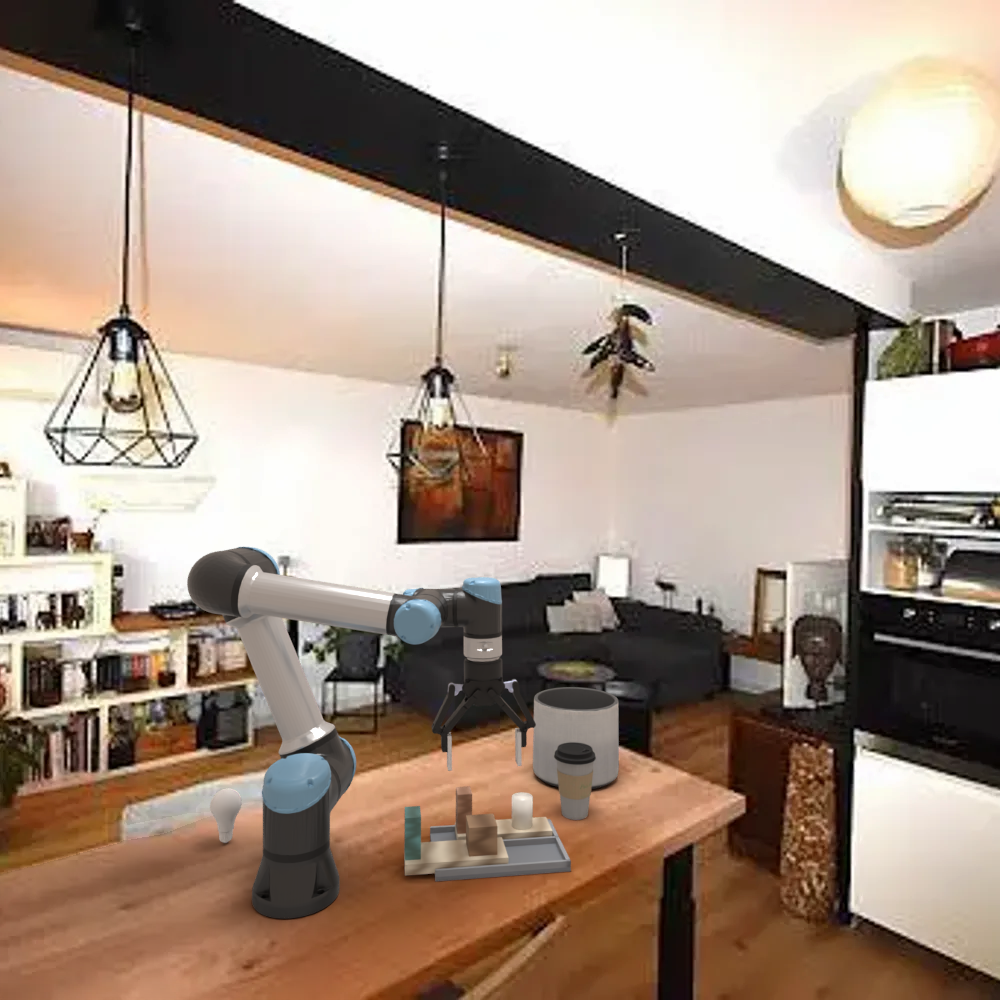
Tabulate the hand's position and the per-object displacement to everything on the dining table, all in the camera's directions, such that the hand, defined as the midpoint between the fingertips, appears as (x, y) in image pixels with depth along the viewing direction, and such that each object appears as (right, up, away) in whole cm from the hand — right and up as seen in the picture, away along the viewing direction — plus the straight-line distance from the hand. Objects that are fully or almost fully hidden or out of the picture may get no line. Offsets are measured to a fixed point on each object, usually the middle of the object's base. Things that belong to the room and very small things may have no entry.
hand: (484, 765), depth 139 cm
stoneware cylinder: (+8, -16, +10) cm, 21 cm away
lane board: (+2, -19, +5) cm, 20 cm away
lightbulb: (-54, -19, +8) cm, 58 cm away
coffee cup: (+20, -20, +22) cm, 36 cm away
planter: (+23, -20, +45) cm, 54 cm away
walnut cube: (-1, -16, 0) cm, 16 cm away
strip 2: (+4, -18, +10) cm, 21 cm away
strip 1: (-6, -19, -1) cm, 20 cm away
